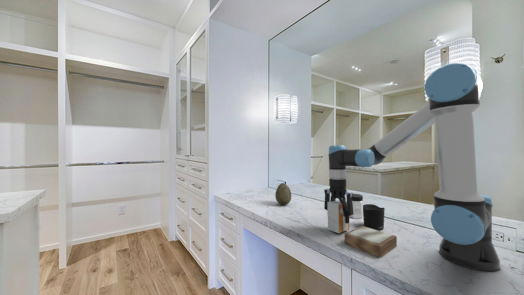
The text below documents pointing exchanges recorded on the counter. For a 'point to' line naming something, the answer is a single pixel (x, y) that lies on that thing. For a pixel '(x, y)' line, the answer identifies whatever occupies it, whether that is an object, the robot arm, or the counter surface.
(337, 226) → the small box
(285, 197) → the decorative egg
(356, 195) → the jar
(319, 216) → the counter surface
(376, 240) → the plinth
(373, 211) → the pen holder
